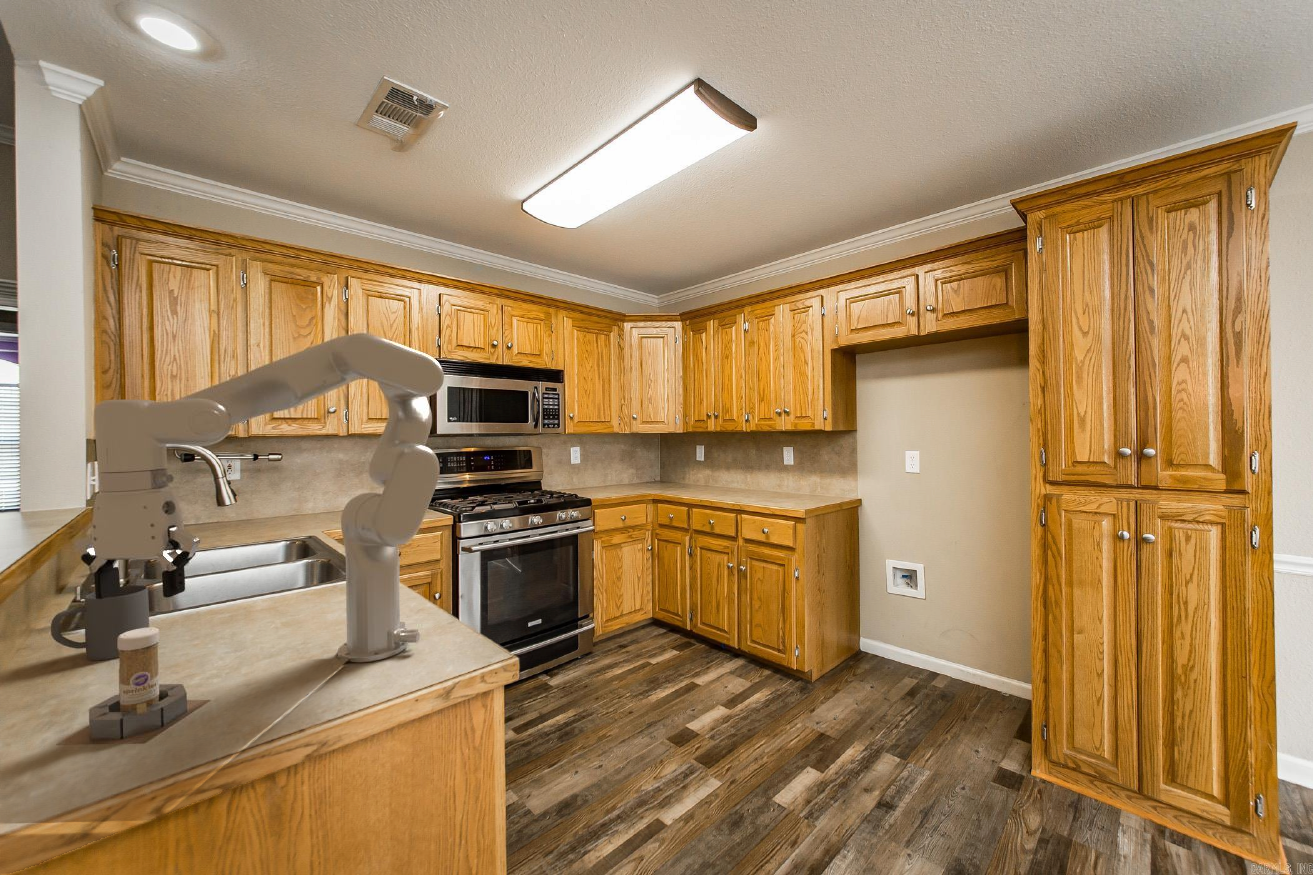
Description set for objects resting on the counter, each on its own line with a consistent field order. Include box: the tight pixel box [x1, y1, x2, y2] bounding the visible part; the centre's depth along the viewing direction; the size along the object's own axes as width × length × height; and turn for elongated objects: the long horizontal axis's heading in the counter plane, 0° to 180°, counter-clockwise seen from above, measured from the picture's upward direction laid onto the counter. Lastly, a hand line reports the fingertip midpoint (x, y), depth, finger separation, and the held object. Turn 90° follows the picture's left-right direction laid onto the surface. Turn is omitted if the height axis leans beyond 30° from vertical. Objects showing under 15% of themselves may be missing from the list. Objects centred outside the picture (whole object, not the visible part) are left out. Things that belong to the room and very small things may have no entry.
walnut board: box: [56, 699, 212, 746], centre depth 83 cm, size 12×12×1 cm
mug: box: [50, 584, 150, 661], centre depth 108 cm, size 14×9×12 cm
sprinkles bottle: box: [117, 627, 160, 712], centre depth 83 cm, size 5×5×14 cm
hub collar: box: [88, 683, 188, 741], centre depth 83 cm, size 10×10×4 cm
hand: (141, 595), depth 83 cm, fingers open, 9 cm apart
